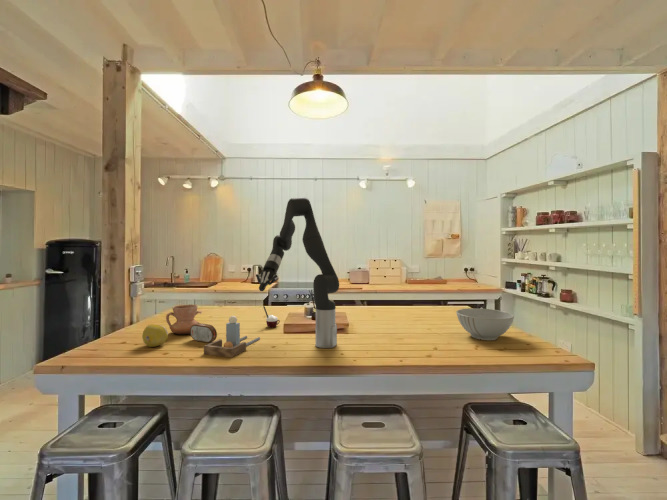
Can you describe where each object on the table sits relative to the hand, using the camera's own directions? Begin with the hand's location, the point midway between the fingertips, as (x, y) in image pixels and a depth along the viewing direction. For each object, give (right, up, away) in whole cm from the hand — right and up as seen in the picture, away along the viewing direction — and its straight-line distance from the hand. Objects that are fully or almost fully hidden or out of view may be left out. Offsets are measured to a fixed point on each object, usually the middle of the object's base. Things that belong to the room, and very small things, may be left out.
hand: (261, 290), depth 177 cm
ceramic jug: (-42, -24, +8) cm, 49 cm away
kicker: (-9, -24, -19) cm, 32 cm away
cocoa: (+2, -23, +21) cm, 31 cm away
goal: (-10, -24, -24) cm, 35 cm away
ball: (-10, -23, -24) cm, 35 cm away
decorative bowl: (+113, -24, +1) cm, 116 cm away
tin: (-26, -24, -8) cm, 36 cm away
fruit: (-46, -24, -15) cm, 54 cm away
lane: (-6, -24, -11) cm, 27 cm away
